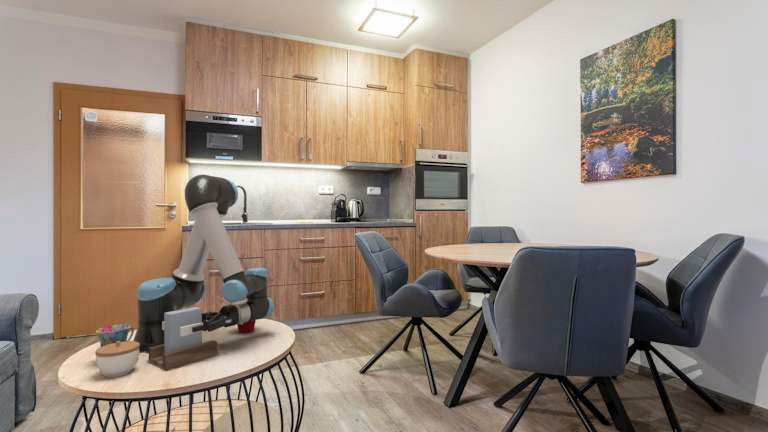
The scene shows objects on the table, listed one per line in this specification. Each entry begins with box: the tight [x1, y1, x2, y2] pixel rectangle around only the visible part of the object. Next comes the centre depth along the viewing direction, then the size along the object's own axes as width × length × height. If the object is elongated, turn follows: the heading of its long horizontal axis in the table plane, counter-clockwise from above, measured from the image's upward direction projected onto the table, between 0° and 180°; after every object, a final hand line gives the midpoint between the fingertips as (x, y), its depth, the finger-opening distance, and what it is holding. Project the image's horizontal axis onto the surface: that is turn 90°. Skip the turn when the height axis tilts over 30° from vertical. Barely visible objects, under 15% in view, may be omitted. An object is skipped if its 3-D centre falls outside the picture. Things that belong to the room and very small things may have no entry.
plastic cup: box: [231, 300, 257, 335], centre depth 152 cm, size 11×11×12 cm
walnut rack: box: [147, 339, 219, 372], centre depth 123 cm, size 13×16×4 cm
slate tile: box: [164, 306, 203, 353], centre depth 123 cm, size 4×10×14 cm, turn 142°
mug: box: [95, 323, 135, 347], centre depth 123 cm, size 12×9×11 cm
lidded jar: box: [95, 340, 140, 378], centre depth 112 cm, size 11×11×9 cm
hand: (171, 328), depth 120 cm, fingers open, 11 cm apart
